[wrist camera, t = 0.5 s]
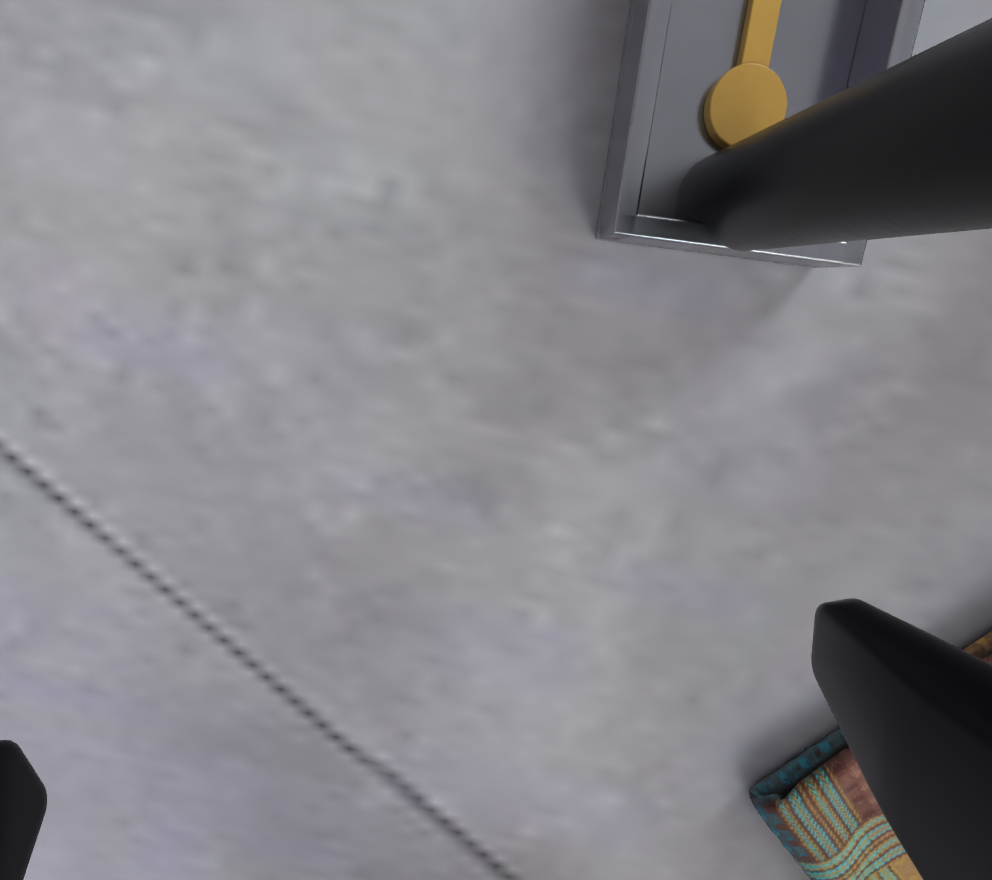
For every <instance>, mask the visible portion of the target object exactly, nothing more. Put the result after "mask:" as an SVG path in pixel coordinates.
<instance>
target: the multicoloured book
mask: <svg viewBox="0 0 992 880" xmlns="http://www.w3.org/2000/svg"><path fill="white" fill-rule="evenodd" d="M963 651H966V652H968V653H970V654H972V655H974V656H976V657H978V658H980V659H982V660H984V661H986V662H988V663H990V664H992V631H991V632H989V633H988V634H986V635H985V636H983V637H982V638H980V639H979V640H977V641H975V642H974V643H972V644H971V645H969V646H968V647H966V648H965V649H963ZM749 794H750V798H751V801H752V803H753V805H754V806H755V808H756V809H757V811H758V813H759V814H760V815H761V816H762V817H763V819H764V820H765V822H766V823H767V825H768V826H769V828H770V829H771V830H772V832H774V833H775V834H776V835H777V837H778V838H779V839H780V841H781V842H782V844H783V846H784V847H785V848H786V849H787V850H788V851H789V852H790V853H791V854H792V856H793V857H794V858H795V859H796V861H797V862H798V863H799V864H800V866H801V867H802V868H803V869H804V871H805V872H806V873H807V874H808V876H809V877H810V878H811V879H812V880H923V879H922V877H921V875H920V874H919V872H918V871H917V869H916V867H915V866H914V864H913V862H912V861H911V859H910V858H909V856H908V854H907V853H906V851H905V850H904V848H903V846H902V845H901V843H900V842H899V840H898V838H897V837H896V835H895V833H894V832H893V830H892V828H891V826H890V825H889V823H888V821H887V820H886V818H885V816H884V815H883V813H882V811H881V809H880V807H879V805H878V803H877V801H876V799H875V798H874V796H873V794H872V792H871V790H870V788H869V786H868V784H867V782H866V780H865V778H864V776H863V774H862V772H861V770H860V768H859V766H858V764H857V761H856V759H855V757H854V755H853V753H852V751H851V749H850V747H849V745H848V743H847V741H846V739H845V737H844V735H843V733H842V731H841V729H838V730H836V731H834V732H832V733H830V734H828V735H827V736H826V737H825V738H824V739H823V740H822V741H820V742H819V743H817V744H816V745H814V746H811V747H809V748H806V749H805V750H804V751H803V753H802V754H801V755H799V756H798V757H797V758H795V759H793V760H790V761H788V762H786V763H785V764H784V765H783V766H782V767H781V768H779V769H778V770H777V771H775V772H774V773H772V774H770V775H767V776H765V777H763V779H762V780H761V781H759V782H758V783H757V784H755V785H754V786H753V787H752V788H751V789H750V791H749Z"/></svg>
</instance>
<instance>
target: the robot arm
mask: <svg viewBox="0 0 992 880" xmlns="http://www.w3.org/2000/svg"><path fill="white" fill-rule="evenodd" d="M811 657H812V668H813V672H814V675H815V678H816V680H817V682H818V685H819V687H820V689H821V691H822V693H823V695H824V697H825V699H826V701H827V703H828V705H829V707H830V709H831V711H832V713H833V715H834V717H835V719H836V721H837V723H838V725H839V727H840V729H841V731H842V733H843V735H844V737H845V739H846V741H847V743H848V745H849V747H850V749H851V751H852V753H853V755H854V757H855V759H856V761H857V764H858V766H859V768H860V770H861V772H862V774H863V776H864V778H865V780H866V782H867V784H868V786H869V788H870V790H871V792H872V794H873V796H874V798H875V799H876V801H877V803H878V805H879V807H880V809H881V811H882V813H883V815H884V816H885V818H886V820H887V821H888V823H889V825H890V826H891V828H892V830H893V832H894V833H895V835H896V837H897V838H898V840H899V842H900V843H901V845H902V846H903V848H904V850H905V851H906V853H907V854H908V856H909V858H910V859H911V861H912V862H913V864H914V866H915V867H916V869H917V871H918V872H919V874H920V875H921V877H922V879H923V880H992V664H990V663H988V662H986V661H984V660H982V659H980V658H978V657H976V656H974V655H972V654H970V653H968V652H966V651H963V650H961V649H959V648H957V647H955V646H953V645H951V644H949V643H947V642H945V641H943V640H941V639H939V638H937V637H935V636H933V635H931V634H929V633H927V632H925V631H923V630H921V629H919V628H917V627H915V626H913V625H911V624H909V623H907V622H904V621H902V620H900V619H898V618H896V617H894V616H892V615H890V614H888V613H886V612H884V611H882V610H880V609H878V608H876V607H874V606H872V605H870V604H868V603H866V602H864V601H861V600H859V599H844V600H838V601H832V602H826V603H823V604H821V605H819V607H818V608H817V610H816V614H815V622H814V633H813V645H812V656H811ZM46 806H47V793H46V789H45V786H44V784H43V783H42V781H41V780H40V778H39V777H38V775H37V773H36V772H35V770H34V769H33V767H32V766H31V764H30V762H29V761H28V759H27V758H26V756H25V755H24V753H23V751H22V750H21V748H20V747H19V746H18V745H17V744H16V743H14V742H12V741H10V740H0V880H23V879H24V876H25V873H26V869H27V866H28V863H29V860H30V857H31V854H32V851H33V848H34V845H35V842H36V839H37V836H38V833H39V830H40V827H41V824H42V821H43V818H44V815H45V811H46Z"/></svg>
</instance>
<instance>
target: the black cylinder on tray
mask: <svg viewBox="0 0 992 880" xmlns="http://www.w3.org/2000/svg"><path fill="white" fill-rule="evenodd" d="M924 2H925V0H782V2H781V7H780V12H779V17H778V22H777V27H776V32H775V37H774V43H773V48H772V53H771V58H770V63H769V68H770V69H771V70H772V71H774V72H775V73H776V74H777V75H778V77H779V78H780V79H781V81H782V83H783V85H784V88H785V91H786V95H787V109H786V115H785V118H784V120H782V121H780V122H777V123H775V124H773V125H771V126H769V127H767V128H765V129H763V130H761V131H759V132H757V133H755V134H753V135H751V136H749V137H747V138H745V139H743V140H740V141H738V142H736V143H734V144H732V145H730V146H728V147H726V148H724V149H723V148H721V147H720V146H718V145H717V144H716V143H715V142H714V141H713V140H712V138H711V137H710V135H709V133H708V132H707V129H706V126H705V122H704V105H705V100H706V97H707V95H708V93H709V91H710V89H711V87H712V86H713V84H714V83H715V82H716V81H717V80H718V79H719V78H720V77H721V76H722V75H723V74H725V73H726V72H727V71H729V70H730V69H732V68H734V67H736V65H737V59H738V54H739V48H740V43H741V38H742V32H743V27H744V22H745V16H746V11H747V5H748V0H631V1H630V8H629V15H628V21H627V28H626V35H625V42H624V48H623V55H622V62H621V68H620V75H619V82H618V89H617V95H616V102H615V109H614V116H613V122H612V129H611V136H610V143H609V149H608V156H607V163H606V170H605V176H604V183H603V190H602V196H601V203H600V210H599V217H598V223H597V230H596V239H598V240H606V241H614V242H621V243H629V244H637V245H644V246H652V247H660V248H667V249H675V250H683V251H691V252H698V253H706V254H714V255H721V256H729V257H737V258H744V259H752V260H760V261H767V262H775V263H783V264H790V265H798V266H806V267H814V268H819V267H856V266H861V263H862V259H863V255H864V251H865V247H866V242H867V240H870V239H881V238H892V237H903V236H913V235H924V234H935V233H946V232H956V231H967V230H978V229H989V228H992V18H991V19H989V20H987V21H985V22H983V23H981V24H979V25H977V26H975V27H973V28H970V29H968V30H966V31H964V32H962V33H960V34H958V35H956V36H954V37H952V38H950V39H948V40H946V41H944V42H942V43H940V44H938V45H936V46H934V47H931V48H929V49H927V50H925V51H923V52H921V53H919V54H917V55H915V56H913V57H911V56H912V52H913V48H914V44H915V40H916V36H917V31H918V27H919V23H920V19H921V15H922V11H923V7H924Z"/></svg>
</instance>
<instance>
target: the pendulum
mask: <svg viewBox="0 0 992 880" xmlns="http://www.w3.org/2000/svg"><path fill="white" fill-rule="evenodd" d="M781 2H782V0H748V5H747V11H746V16H745V22H744V27H743V32H742V38H741V43H740V48H739V54H738V59H737V65H736V67H734V68H732V69H730V70H729V71H727V72H726V73H725V74H723V75H722V76H721V77H720V78H719V79H718V80H717V81H716V82H715V83H714V84H713V86H712V87H711V89H710V91H709V93H708V95H707V97H706V100H705V105H704V122H705V126H706V129H707V132H708V133H709V135H710V137H711V138H712V140H713V141H714V142H715V143H716V144H717V145H718V146H720V147H721V148H723V149H724V148H726V147H728V146H730V145H732V144H734V143H736V142H738V141H740V140H743V139H745V138H747V137H749V136H751V135H753V134H755V133H757V132H759V131H761V130H763V129H765V128H767V127H769V126H771V125H773V124H775V123H777V122H780V121H782V120H784V118H785V115H786V109H787V95H786V91H785V88H784V85H783V83H782V81H781V79H780V78H779V77H778V75H777V74H776V73H775V72H774V71H772V70H771V69H770V68H769V63H770V58H771V53H772V48H773V43H774V37H775V32H776V27H777V22H778V17H779V12H780V7H781Z"/></svg>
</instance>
